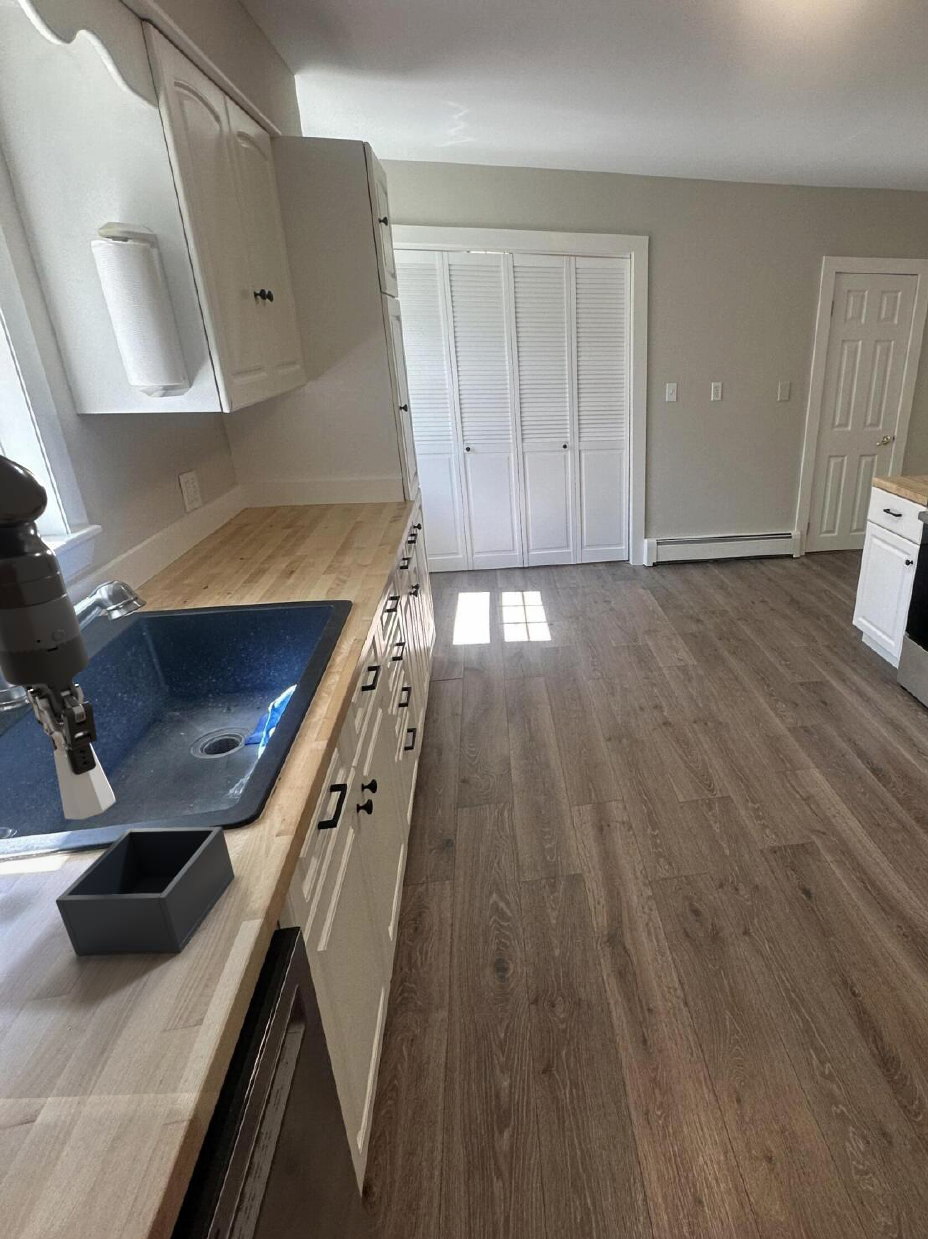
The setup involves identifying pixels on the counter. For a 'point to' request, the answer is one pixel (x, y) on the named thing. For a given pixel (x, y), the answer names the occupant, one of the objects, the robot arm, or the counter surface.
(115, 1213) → the counter surface
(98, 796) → the pepper shaker
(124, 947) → the bin
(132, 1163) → the counter surface
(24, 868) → the counter surface
